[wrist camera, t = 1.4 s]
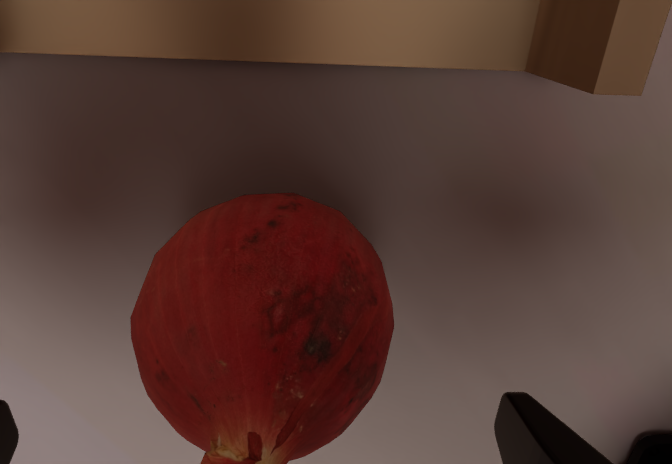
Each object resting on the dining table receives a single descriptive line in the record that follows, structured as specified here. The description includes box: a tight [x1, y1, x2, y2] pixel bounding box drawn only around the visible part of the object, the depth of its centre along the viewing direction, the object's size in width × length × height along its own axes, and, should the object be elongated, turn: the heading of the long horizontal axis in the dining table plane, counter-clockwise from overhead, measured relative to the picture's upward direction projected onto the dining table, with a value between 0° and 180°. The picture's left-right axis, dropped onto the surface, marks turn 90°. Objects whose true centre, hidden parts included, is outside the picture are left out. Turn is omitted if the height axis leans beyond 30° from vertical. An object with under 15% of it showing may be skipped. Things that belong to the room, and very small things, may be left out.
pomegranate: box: [131, 193, 394, 464], centre depth 11 cm, size 6×6×8 cm
